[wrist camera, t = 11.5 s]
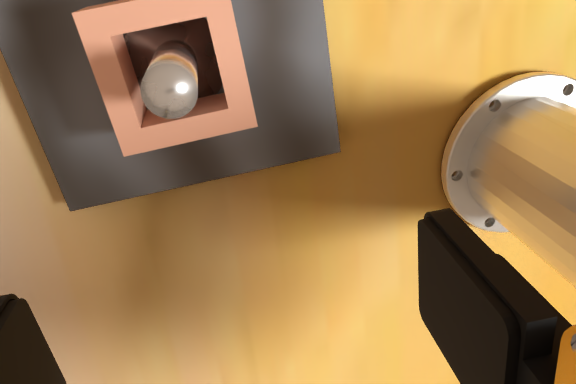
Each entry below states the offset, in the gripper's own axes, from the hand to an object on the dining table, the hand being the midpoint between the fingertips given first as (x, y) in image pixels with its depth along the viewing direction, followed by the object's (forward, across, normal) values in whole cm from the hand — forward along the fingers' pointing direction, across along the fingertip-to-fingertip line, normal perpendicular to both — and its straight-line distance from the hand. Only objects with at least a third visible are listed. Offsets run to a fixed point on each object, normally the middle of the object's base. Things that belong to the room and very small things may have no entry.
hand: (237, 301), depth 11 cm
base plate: (+21, +2, -3) cm, 21 cm away
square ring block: (+18, +2, -3) cm, 19 cm away
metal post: (+19, +2, -3) cm, 20 cm away
